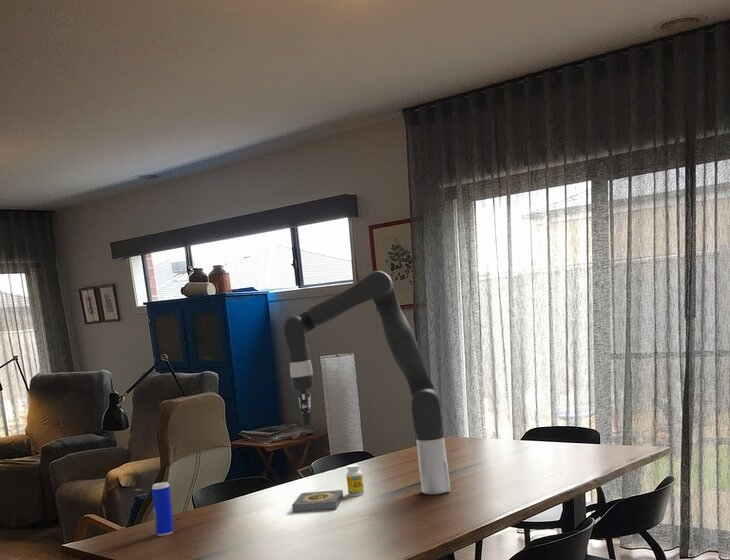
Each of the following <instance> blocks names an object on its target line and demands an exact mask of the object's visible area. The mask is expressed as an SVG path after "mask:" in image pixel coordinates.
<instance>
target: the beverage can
mask: <svg viewBox="0 0 730 560" xmlns="http://www.w3.org/2000/svg"><path fill="white" fill-rule="evenodd" d="M151 487H152V488H151V494H152V505H153V506H152V507H153V514H154V515H153V517H154V525H155V526H154V527H155V534H156V535H157V536H159V537H163V536H168V535H171V534H172V533H173V532H174V524H173V523H174V521H173V511H172V509H173V508H172V499H171V488H170V484H169V482H168V481H162V482H161V481H160V482H157V483H154V484H152V486H151Z"/></svg>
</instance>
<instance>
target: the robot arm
mask: <svg viewBox="0 0 730 560" xmlns="http://www.w3.org/2000/svg"><path fill="white" fill-rule="evenodd" d="M371 300H373V303H374V304H375V307H376V309H377V311H378V313H379V315H380V319H381V324H382V327H383V333H384V337H385V340H386V343H387V345H388V348H389V350H390V353H391V356H392V357H393V359H394V361H395V363H396V365H397V366H398V368H399V370H400V371H401V372H402V375H404V378H405V380H406V381H407V385H408V387H409V391H410V393H411V397H412V398H411V402H410V403H411V413H412V415H411V416H412V423H413V430H414V432H415V433H414V434H415V439H416V451H417V458H418V467H419V469H418V470H419V475H420V476H419V477H420V478H419V479H420V486H421V493H423V494H425V495H438V494H439V495H440V494H444V493H449V492H451V483H450V476H449V475H450V474H449V466H448V459H447V451H446V442H445V435H444V434H445V433H444V426H443V421H442V413H441V396H440V394H439V393H438V391H437V389H436V388H435V386H434V384H433V382H432V381H431V379H430V375H429V374H428V371H427V370H426V366H425V362H424V359H423V356H422V353H421V349H420V348H419V344H418V341H417V340H416V337H415V335H414V332H413V329H412V328H411V326H410V323H409V321H408V320H407V317H406V316H405V314H404V312H403V310H402V309H401V306H400V304H399V300H398V298H397V293H396V290H395V287H394V283H393V280H392V278H391V276H390V275H388V274H387V273H386V272H384V271H381V270H375V271H372V272H370V273H369V274H367V276H364V277H363V278H362V279H361V280H359V282H357V283H356V284H354V285H352V286H351V287H349V288H347V289H345V290H343V291H342V292H340V293H337V294H335V295H333V296H330V297H329V298H327V299H324V300H322V301H320V302H318V303H316V304H314V305H313V306H311V307H310V308H309V309H308V310H306V311H303V312H302V313H299V314H297V315H293V316H289V317H288V318H286V319H285V321H284V323H283V334H284V338H285V341H286V345H287V349H288V359H289V360H288V361H289V375H290V380H291V381H290V382H291V389H292V390H293V391H299V392H300V393H299V394H298V396H297V397H298V402H299V408H300V409H301V410H300V412H301V414H302V420H303V425H304V426H309V425H310V424H311V421H312V414H311V409H312V408H311V405H312V401H311V398H312V396H311V395H312V394H311V393H310V391H309V389H314V387H315V380H314V372H313V370H314V369H313V365H312V361H311V353H310V352H311V351H310V348H309V344H307V341H306V334H307V333H310V332H311V331H312V330H314V329H316V328H317V327H320V326H322V325H324V324H327V323H329V322H330V321H333V320H334V319H336V318H338V317H340V316H341V315H343V314H345V313H346V312H348V311H349V310H351V309H353V308H355V307H356V306H359V305H360V304H363V303H365V302H368V301H371Z"/></svg>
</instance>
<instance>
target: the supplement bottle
mask: <svg viewBox="0 0 730 560" xmlns="http://www.w3.org/2000/svg"><path fill="white" fill-rule="evenodd" d="M346 467H347V473H346V483H347V490H348V491H347V493H348V495H349V496H350V497H358V496H362V495H364V493H365V490H364V487H365V486H364V480H363V472H362V471H361V470H360V465H359V464H358V463H357V464H356V463H355V464H349V465H347V466H346Z"/></svg>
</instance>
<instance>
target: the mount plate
mask: <svg viewBox="0 0 730 560" xmlns="http://www.w3.org/2000/svg"><path fill="white" fill-rule="evenodd" d="M343 499H344V492H343V489H336V490H324V491H311V492H301V493H300V495H299V496H298V497H297V498H296V499H295V501H294V502H293V503H292V505H291V507H292V513H296V514H297V513H309V512H319V511H320V512H322V511H331V510H330V509H335V510H337V509H338V508H337V507H339V506H340V504H341V503H342V501H341V500H343ZM321 510H322V511H321Z"/></svg>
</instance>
